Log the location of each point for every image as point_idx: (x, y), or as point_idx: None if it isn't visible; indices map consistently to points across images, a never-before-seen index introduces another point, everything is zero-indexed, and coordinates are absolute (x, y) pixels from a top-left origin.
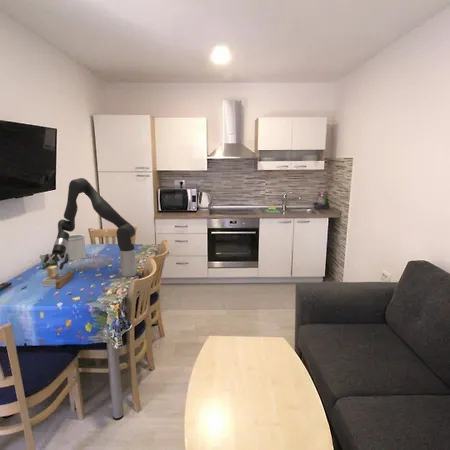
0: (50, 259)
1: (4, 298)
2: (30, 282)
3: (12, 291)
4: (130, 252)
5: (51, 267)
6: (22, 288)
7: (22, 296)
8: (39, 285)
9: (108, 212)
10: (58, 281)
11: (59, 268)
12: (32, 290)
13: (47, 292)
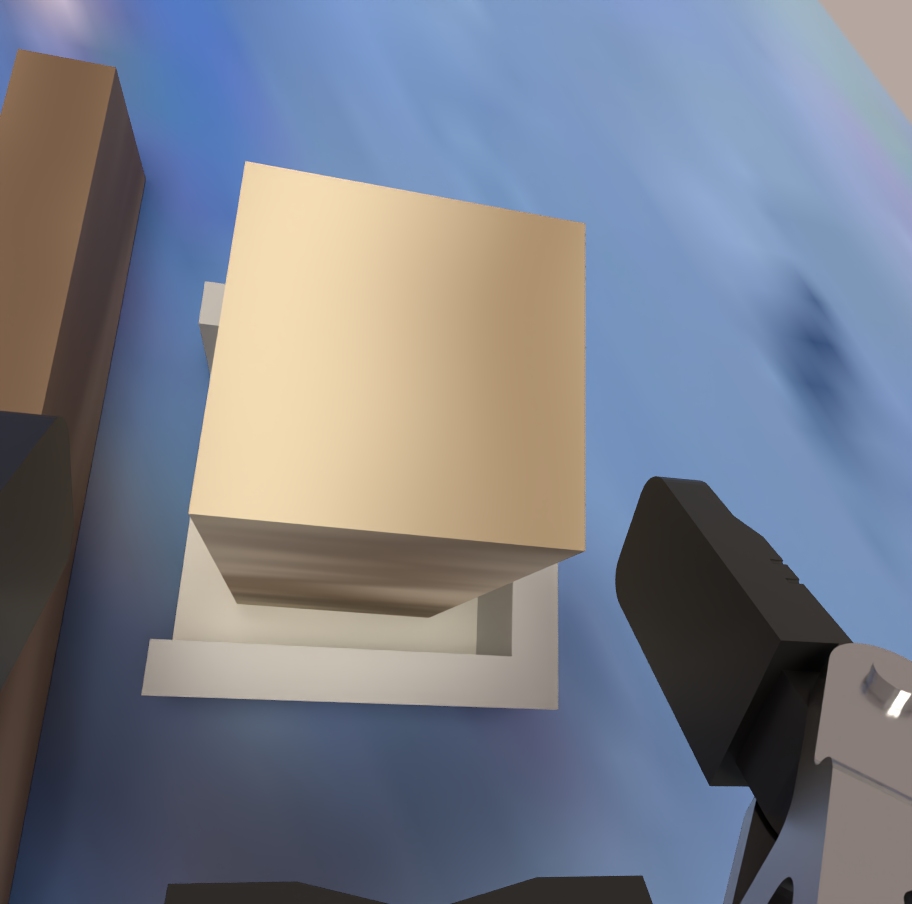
0: (846, 814)
1: (825, 10)
2: (896, 650)
3: (902, 240)
4: None
5: (383, 273)
6: (833, 339)
7: (613, 3)
8: (607, 436)
9: None
10: (48, 101)
11: (58, 423)
12: (597, 205)
13: (259, 44)
